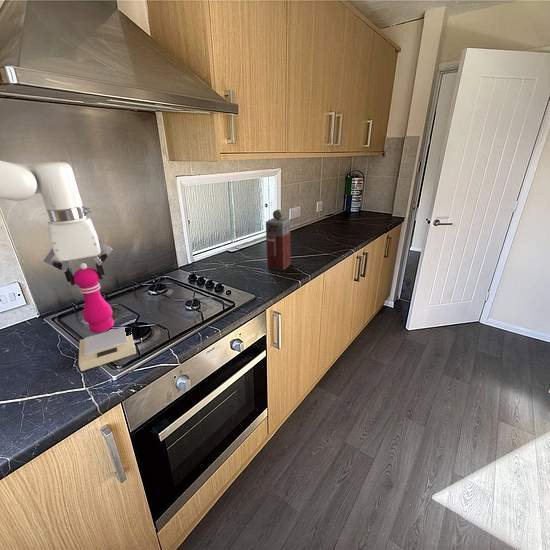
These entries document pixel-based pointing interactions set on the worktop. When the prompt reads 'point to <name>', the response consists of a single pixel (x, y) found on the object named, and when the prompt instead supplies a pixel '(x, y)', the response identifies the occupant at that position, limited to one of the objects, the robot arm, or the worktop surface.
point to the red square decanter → (278, 241)
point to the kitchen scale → (105, 348)
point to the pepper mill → (93, 300)
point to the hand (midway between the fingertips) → (87, 280)
